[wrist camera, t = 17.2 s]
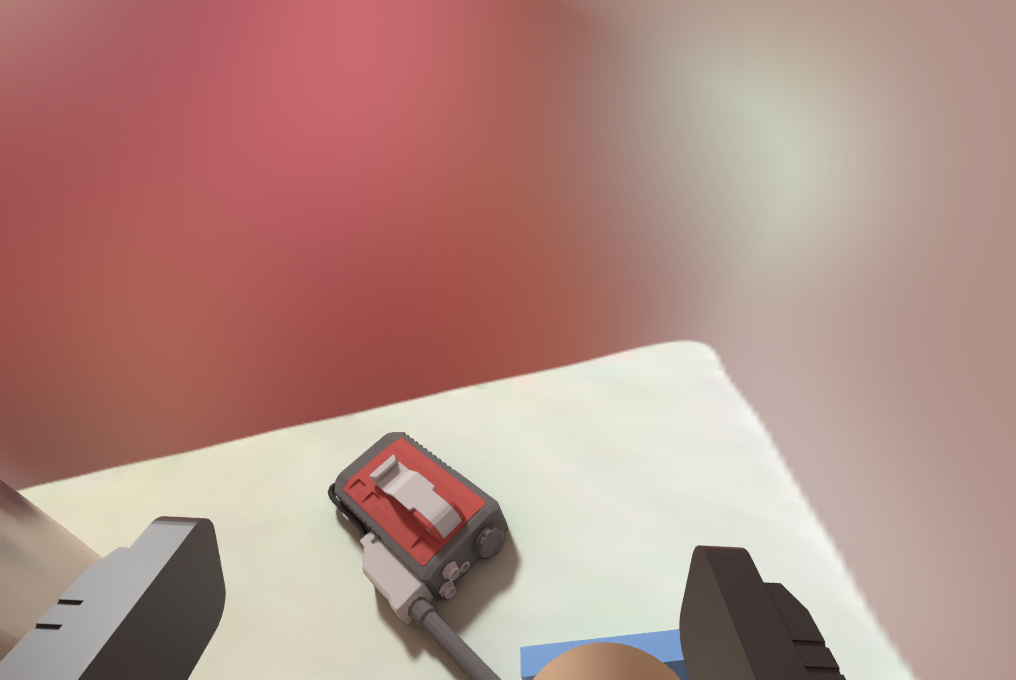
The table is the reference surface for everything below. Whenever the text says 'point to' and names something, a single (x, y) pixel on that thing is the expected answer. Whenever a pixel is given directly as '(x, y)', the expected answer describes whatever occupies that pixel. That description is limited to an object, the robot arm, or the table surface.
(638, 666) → the cord spool
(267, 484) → the table surface
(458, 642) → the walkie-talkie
